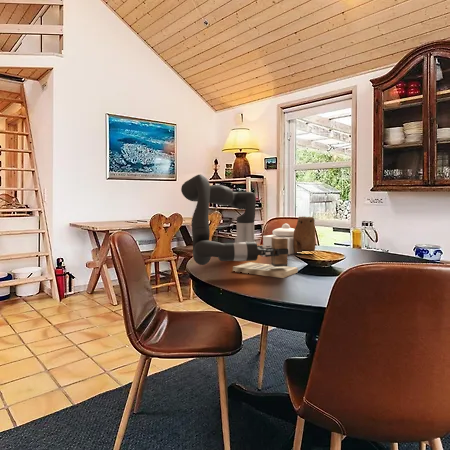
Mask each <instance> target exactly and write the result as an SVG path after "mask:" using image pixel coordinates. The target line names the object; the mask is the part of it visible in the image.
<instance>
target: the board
mask: <svg viewBox="0 0 450 450" xmlns="http://www.w3.org/2000/svg"><path fill="white" fill-rule="evenodd" d="M298 270H299V268H298V267H295V266H288V265H287V266H283V267H275V266H273V265H271V263H270V264H269V263H260V262H253V261H247V262H246V263H242V264H241V263H240V264H239V265H234V266H232V272H233V271H235V273H240V272H242V273H241V274H248V273H249V274H248V275H258V276H263V277H264V276H265V277H272V278H281V279H284V278H288V277H290V276H292V275H295V274H296V273H298Z"/></svg>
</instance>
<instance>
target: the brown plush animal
mask: <svg viewBox="0 0 450 450" xmlns="http://www.w3.org/2000/svg"><path fill="white" fill-rule="evenodd" d="M315 223H316V222H315V218H314V217H312V216H298V218H297V223H296V226H295V228H294V229H295V230H294V253H297V252H302V251H315V252H316V224H315Z"/></svg>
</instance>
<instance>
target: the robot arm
mask: <svg viewBox="0 0 450 450" xmlns="http://www.w3.org/2000/svg"><path fill="white" fill-rule="evenodd" d="M180 189H181V190H180V191H181V193H182V196H183V197H184V198H185V199H186V200H188V201H190V202H197V203H196V206H195V209H194V211H193V214H192V216H191V217H192V218H191V235H192V258H193V260H194V262H195V263H196V264H198V265H200V266H204V265H207V264H208V263H209V262H210V261H211V258H217V259H218V260H219V261H222V262H256V261H257V260H258V258H259V256H261V257H263V258H264V257H265V258H268V257H269V258H270V257H271V256H279V255H280V254H287V255H288V249H278V248H277V249H275V248H273V247H272V246H263V244H262V245H258V244H257V241H255V219H256V205H257V198H256V194H255V193H254V192H252V191H233V190H232V189H231V187H228V186H225V185H222V184H214V185H210V182H209V179H207V177H206V176H205V175H203V174H196V175H194V176H192V177H191V178H190V179H188V180H186V181H185V182H184V183H183V184H181V188H180ZM210 204H215V205H218V206H219V205H220V206H224V207H225V206H227V207H228V206H230V207H232V208H233V209H237V210H244V213H243V214H242V215H239V216H237V217H236V236H235V237H234V242H224V243H222V242H218V241H213V240H210V238H211V231H210V222H209V212H210V211H209V209H210ZM274 251H276V254H275V253H274Z"/></svg>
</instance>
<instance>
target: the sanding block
mask: <svg viewBox="0 0 450 450" xmlns="http://www.w3.org/2000/svg"><path fill="white" fill-rule="evenodd" d="M272 247H273V248H275V249H277V248H278V249H288V239H287V238H284V237H274V238H272ZM274 253H275V254H276V251H274ZM270 257H271V261H270V262H271V263H270V265H273V266H275V267H283V266H288V254H280V255H279V256H270Z"/></svg>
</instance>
